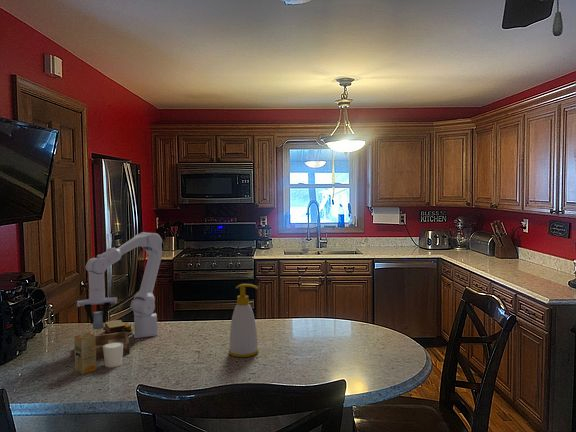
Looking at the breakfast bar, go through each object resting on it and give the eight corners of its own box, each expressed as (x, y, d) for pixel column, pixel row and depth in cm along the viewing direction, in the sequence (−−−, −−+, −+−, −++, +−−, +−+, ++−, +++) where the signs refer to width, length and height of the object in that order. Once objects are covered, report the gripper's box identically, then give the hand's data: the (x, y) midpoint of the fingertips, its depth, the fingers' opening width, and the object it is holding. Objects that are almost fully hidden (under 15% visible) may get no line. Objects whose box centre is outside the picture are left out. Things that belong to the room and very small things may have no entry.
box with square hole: (127, 341, 188) (126, 331, 187) (129, 353, 173) (129, 343, 173) (79, 347, 181) (78, 337, 181) (77, 360, 166) (77, 350, 166)
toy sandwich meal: (105, 340, 189) (105, 329, 189) (100, 332, 201) (99, 321, 201) (136, 335, 196) (136, 324, 196) (129, 327, 207) (129, 317, 207)
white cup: (98, 366, 161) (98, 346, 161) (114, 359, 167) (113, 340, 167) (112, 369, 158) (112, 349, 157) (128, 362, 164) (127, 343, 163)
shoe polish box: (89, 366, 161) (88, 332, 160) (96, 369, 157) (95, 335, 157) (75, 370, 157) (74, 336, 156) (82, 374, 154) (81, 339, 153)
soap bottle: (254, 359, 166) (253, 287, 165) (224, 357, 168) (223, 286, 167) (262, 348, 177) (261, 281, 176) (234, 346, 179) (233, 280, 178)
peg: (103, 325, 183) (102, 311, 183) (103, 328, 179) (103, 313, 179) (92, 327, 181) (92, 312, 181) (92, 329, 178) (92, 314, 178)
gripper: (76, 292, 173) (77, 327, 174) (116, 288, 178) (117, 323, 179) (77, 288, 180) (78, 322, 180) (116, 285, 185) (117, 318, 186)
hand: (98, 322), depth 180 cm, fingers closed on peg, 4 cm apart
